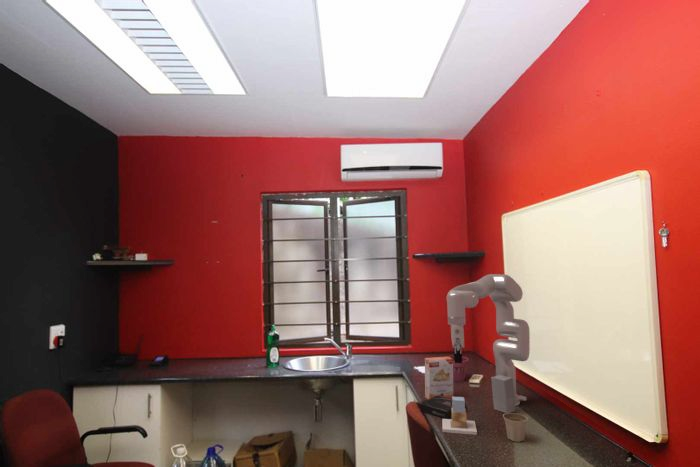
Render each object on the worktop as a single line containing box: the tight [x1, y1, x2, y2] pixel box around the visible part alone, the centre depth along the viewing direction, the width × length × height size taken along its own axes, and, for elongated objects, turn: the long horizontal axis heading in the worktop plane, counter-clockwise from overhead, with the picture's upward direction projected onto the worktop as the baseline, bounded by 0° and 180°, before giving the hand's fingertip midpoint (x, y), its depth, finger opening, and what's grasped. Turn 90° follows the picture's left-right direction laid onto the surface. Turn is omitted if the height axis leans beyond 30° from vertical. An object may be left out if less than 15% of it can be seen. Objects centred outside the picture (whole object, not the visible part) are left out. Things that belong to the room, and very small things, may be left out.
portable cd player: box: [417, 396, 468, 420], centre depth 201 cm, size 16×17×4 cm
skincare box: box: [490, 375, 517, 414], centre depth 201 cm, size 8×7×16 cm
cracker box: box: [424, 356, 454, 400], centre depth 219 cm, size 14×6×21 cm, turn 105°
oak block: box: [451, 408, 467, 428], centre depth 180 cm, size 6×6×6 cm
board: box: [441, 418, 478, 436], centre depth 180 cm, size 14×12×1 cm
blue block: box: [452, 396, 466, 413], centre depth 180 cm, size 5×5×5 cm
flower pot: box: [502, 412, 528, 443], centre depth 168 cm, size 9×9×9 cm
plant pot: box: [446, 355, 470, 383], centre depth 254 cm, size 14×14×13 cm
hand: (457, 360), depth 182 cm, fingers open, 9 cm apart
